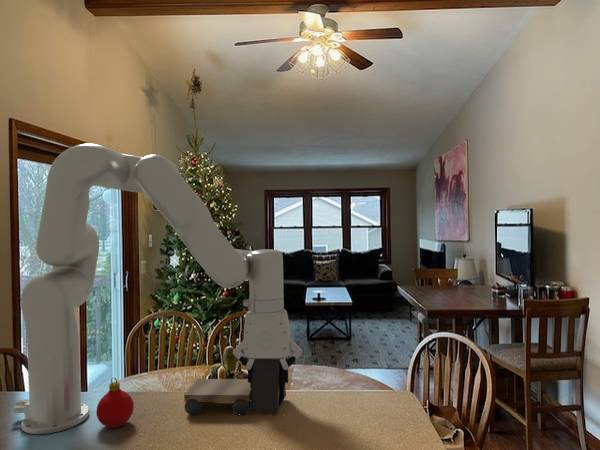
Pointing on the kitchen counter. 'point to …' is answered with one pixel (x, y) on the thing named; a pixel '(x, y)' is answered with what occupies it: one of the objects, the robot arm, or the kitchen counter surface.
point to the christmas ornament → (115, 406)
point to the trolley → (218, 394)
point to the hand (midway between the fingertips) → (268, 384)
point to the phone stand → (266, 386)
